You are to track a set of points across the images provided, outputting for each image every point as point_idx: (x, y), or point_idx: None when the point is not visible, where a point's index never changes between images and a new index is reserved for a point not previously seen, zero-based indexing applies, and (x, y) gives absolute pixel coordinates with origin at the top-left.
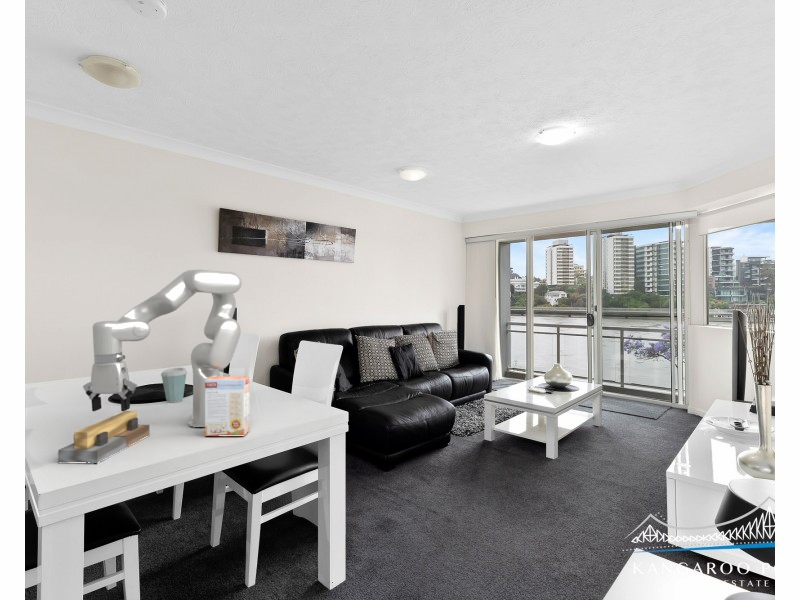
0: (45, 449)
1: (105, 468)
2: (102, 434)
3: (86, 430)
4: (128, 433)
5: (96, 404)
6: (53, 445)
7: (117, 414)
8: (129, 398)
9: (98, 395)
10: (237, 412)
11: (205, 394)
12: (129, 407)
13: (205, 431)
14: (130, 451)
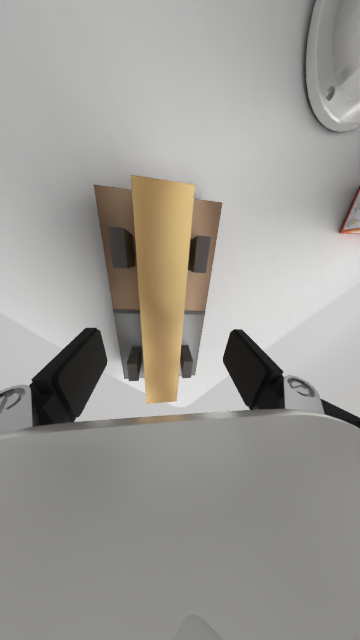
0: (30, 313)
1: (209, 367)
2: (191, 373)
3: (164, 393)
4: (199, 292)
5: (91, 375)
6: (16, 289)
7: (137, 253)
8: (283, 378)
9: (37, 410)
10: None
11: None
12: (241, 331)
13: (357, 231)
14: (212, 314)
